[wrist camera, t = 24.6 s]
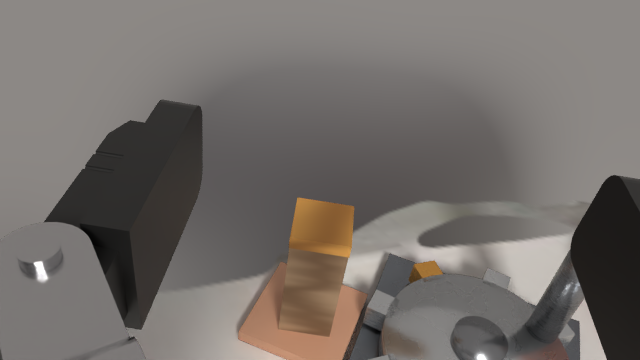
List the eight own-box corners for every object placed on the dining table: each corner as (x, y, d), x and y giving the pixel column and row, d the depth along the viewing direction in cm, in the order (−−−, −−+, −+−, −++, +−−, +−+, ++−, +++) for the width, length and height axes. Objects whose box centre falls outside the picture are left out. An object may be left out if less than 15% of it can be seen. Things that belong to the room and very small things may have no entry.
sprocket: (422, 513, 33) (515, 364, 23) (328, 295, 45) (362, 135, 35) (632, 438, 39) (781, 292, 29) (499, 262, 51) (570, 116, 41)
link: (277, 329, 42) (290, 237, 36) (284, 288, 45) (297, 197, 39) (329, 337, 42) (351, 247, 36) (333, 296, 45) (354, 206, 39)
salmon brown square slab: (238, 339, 42) (238, 331, 42) (280, 269, 48) (281, 261, 48) (335, 379, 41) (337, 371, 40) (365, 301, 47) (367, 294, 46)
